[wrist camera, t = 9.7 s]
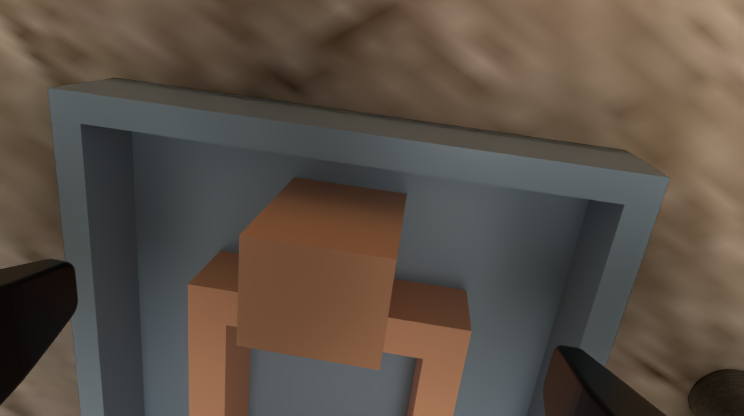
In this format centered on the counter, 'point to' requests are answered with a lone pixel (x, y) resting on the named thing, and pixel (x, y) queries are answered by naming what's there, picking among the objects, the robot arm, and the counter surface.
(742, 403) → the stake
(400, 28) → the counter surface
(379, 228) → the tan rectangular frame
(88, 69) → the counter surface
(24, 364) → the robot arm
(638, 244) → the tray
